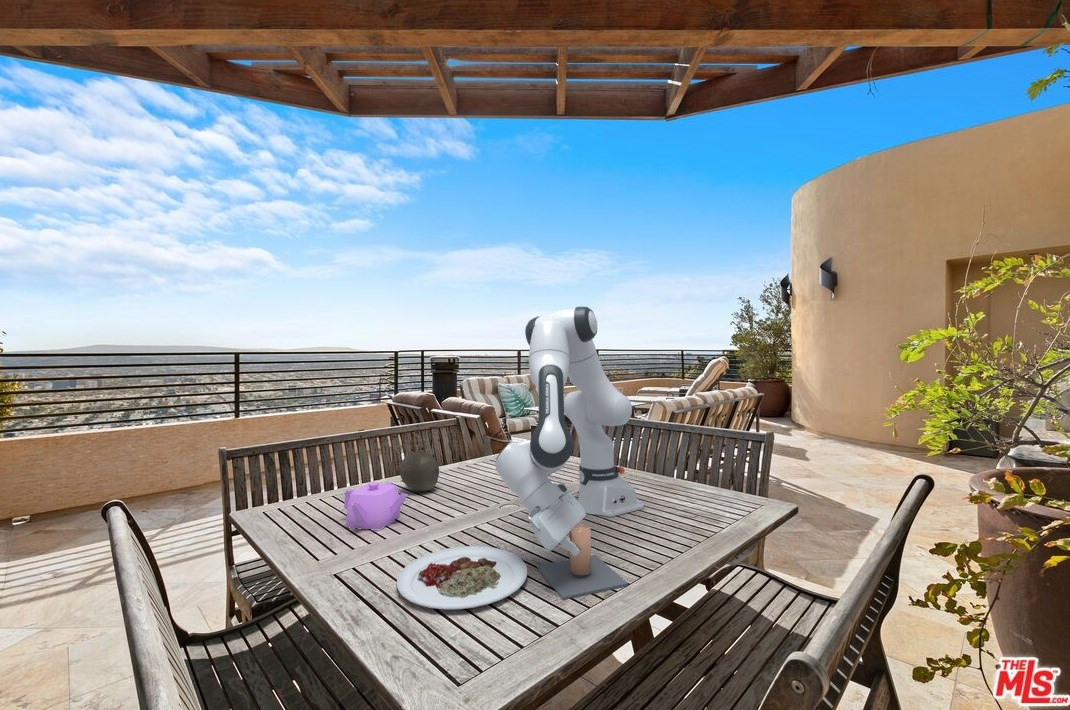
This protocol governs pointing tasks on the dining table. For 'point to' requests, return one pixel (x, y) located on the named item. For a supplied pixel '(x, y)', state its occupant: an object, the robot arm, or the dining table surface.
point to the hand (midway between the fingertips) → (582, 548)
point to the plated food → (462, 577)
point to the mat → (581, 578)
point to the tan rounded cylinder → (582, 560)
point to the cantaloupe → (419, 471)
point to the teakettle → (373, 505)
